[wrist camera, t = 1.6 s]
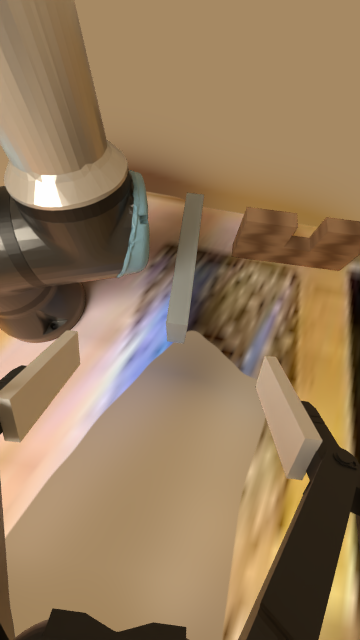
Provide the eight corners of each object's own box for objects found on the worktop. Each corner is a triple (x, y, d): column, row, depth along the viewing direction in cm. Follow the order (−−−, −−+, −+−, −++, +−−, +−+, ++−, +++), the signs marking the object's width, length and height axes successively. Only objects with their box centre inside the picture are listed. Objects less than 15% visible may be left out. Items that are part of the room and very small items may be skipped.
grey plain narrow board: (184, 343, 42) (187, 325, 33) (167, 341, 42) (166, 322, 33) (197, 234, 50) (204, 194, 41) (183, 232, 50) (186, 192, 41)
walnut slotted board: (231, 256, 49) (246, 220, 39) (232, 244, 50) (247, 207, 40) (339, 270, 48) (379, 238, 39) (337, 258, 50) (376, 223, 40)
